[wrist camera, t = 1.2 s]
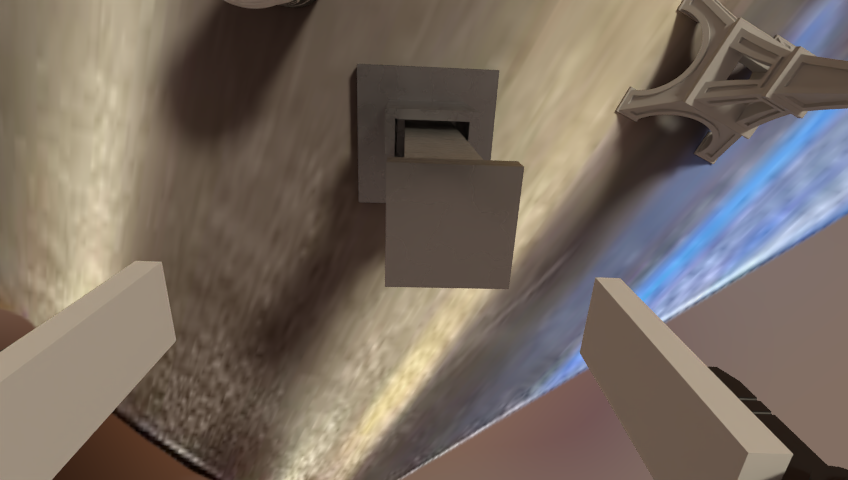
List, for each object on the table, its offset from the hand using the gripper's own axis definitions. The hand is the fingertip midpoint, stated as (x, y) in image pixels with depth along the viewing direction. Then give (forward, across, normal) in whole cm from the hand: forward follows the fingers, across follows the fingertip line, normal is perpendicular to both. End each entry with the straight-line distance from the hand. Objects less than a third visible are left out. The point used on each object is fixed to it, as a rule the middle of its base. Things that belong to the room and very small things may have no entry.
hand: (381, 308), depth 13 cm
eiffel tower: (+37, +31, +8) cm, 49 cm away
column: (+34, +2, 0) cm, 34 cm away
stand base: (+36, +2, 0) cm, 36 cm away
